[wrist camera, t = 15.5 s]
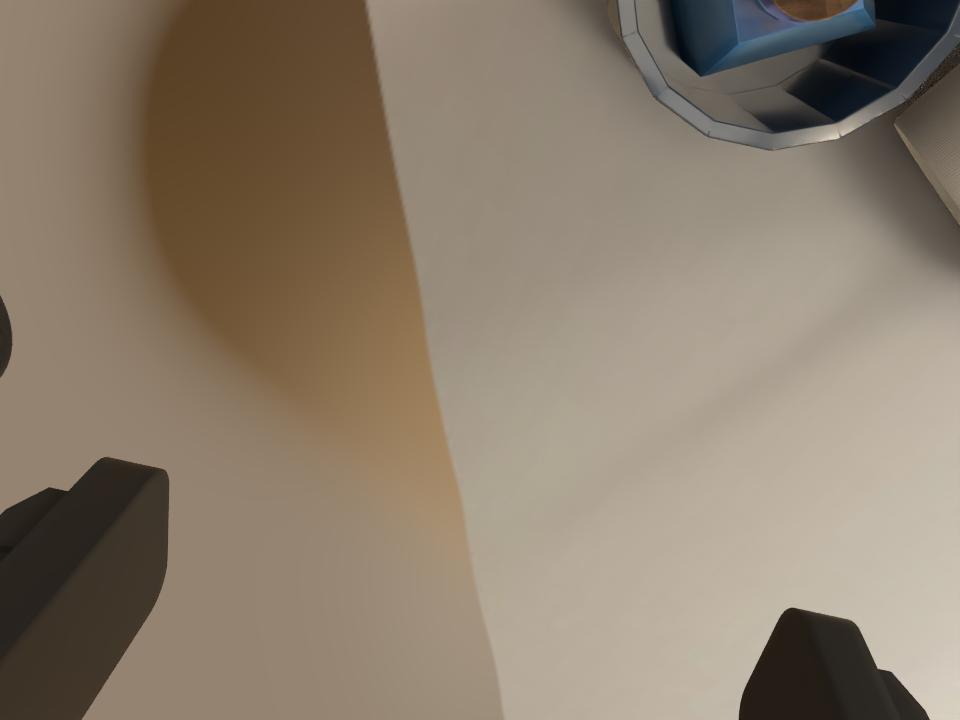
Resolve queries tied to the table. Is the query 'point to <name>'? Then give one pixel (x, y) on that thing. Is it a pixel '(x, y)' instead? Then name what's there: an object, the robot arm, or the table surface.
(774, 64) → the holder
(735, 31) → the perfume bottle
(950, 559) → the table surface
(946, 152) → the light fixture
